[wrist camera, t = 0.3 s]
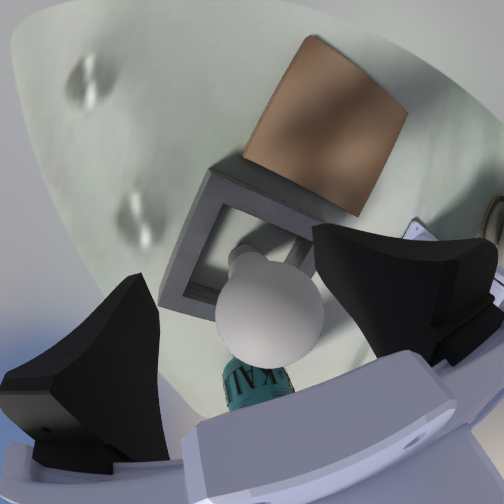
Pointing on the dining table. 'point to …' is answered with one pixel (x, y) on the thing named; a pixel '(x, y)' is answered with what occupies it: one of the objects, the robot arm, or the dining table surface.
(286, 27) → the dining table surface
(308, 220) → the holder frame
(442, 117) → the dining table surface
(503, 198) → the apothecary jar
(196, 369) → the dining table surface
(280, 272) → the lightbulb
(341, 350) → the dining table surface
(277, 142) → the walnut pad
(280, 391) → the beverage bottle
